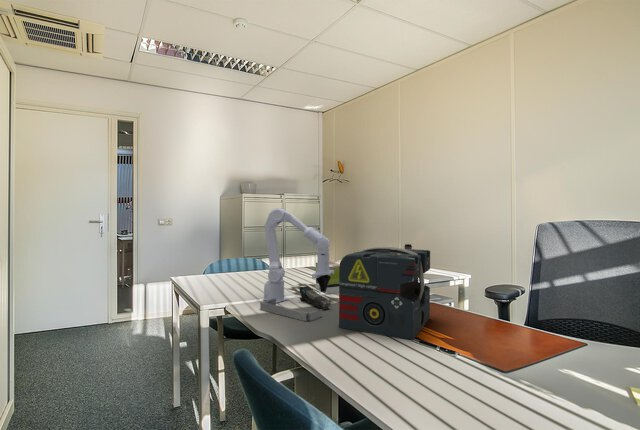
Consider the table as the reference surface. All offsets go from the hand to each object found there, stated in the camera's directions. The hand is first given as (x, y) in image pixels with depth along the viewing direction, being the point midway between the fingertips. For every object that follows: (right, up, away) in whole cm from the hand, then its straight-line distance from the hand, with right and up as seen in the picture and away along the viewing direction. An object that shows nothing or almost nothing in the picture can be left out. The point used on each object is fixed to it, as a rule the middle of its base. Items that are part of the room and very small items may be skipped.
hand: (323, 291), depth 171 cm
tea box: (+3, -5, +23) cm, 23 cm away
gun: (-4, -5, -5) cm, 9 cm away
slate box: (-14, -5, -18) cm, 24 cm away
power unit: (+24, -6, -31) cm, 40 cm away
